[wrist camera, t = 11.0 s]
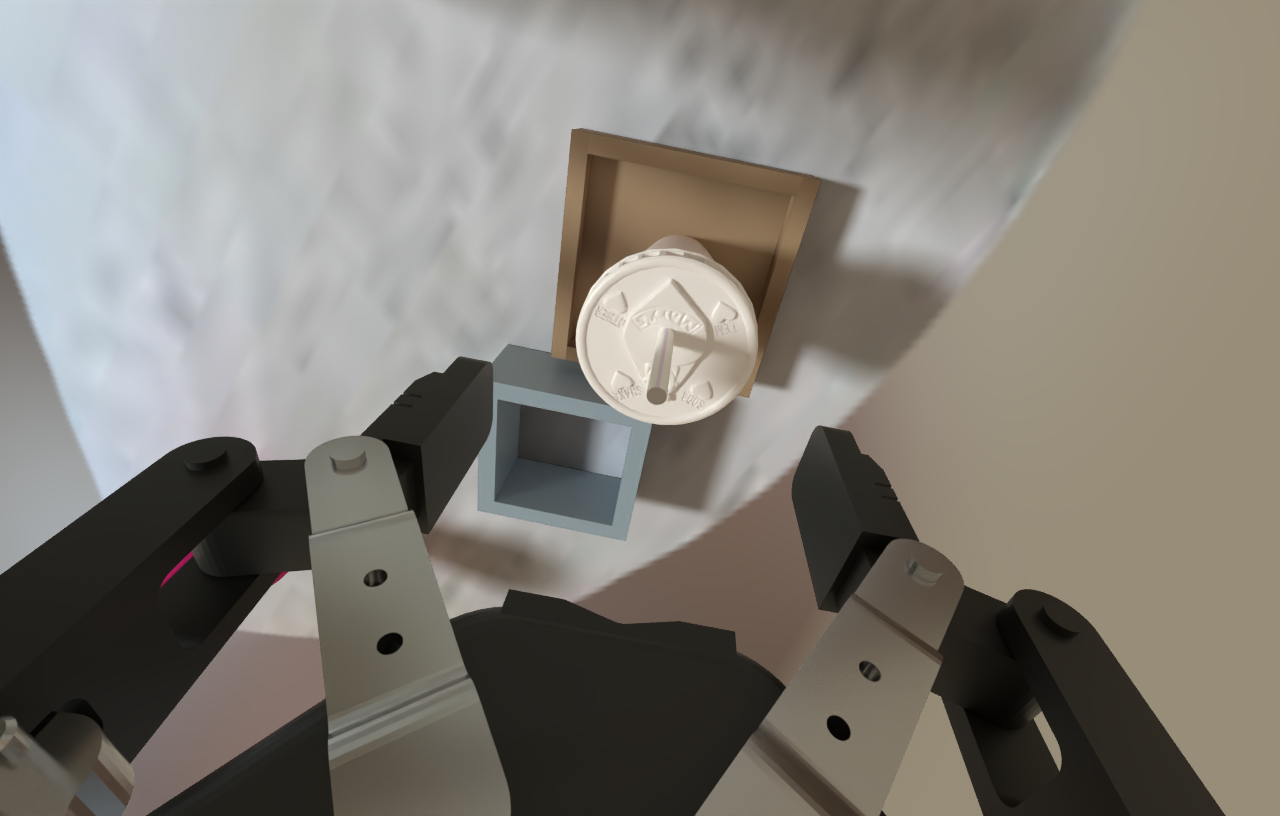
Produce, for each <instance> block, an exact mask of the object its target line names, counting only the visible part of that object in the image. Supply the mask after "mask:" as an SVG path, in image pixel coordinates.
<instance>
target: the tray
mask: <svg viewBox="0 0 1280 816" xmlns="http://www.w3.org/2000/svg"><path fill="white" fill-rule="evenodd" d="M820 183H821V180H819V179H817V178H815V177H813V176H812V175H807V174H802V173H797V172H792V171H788V170H783V169H778V168H773V167H768V166H763V165H758V164H754V163H749V162H744V161H739V160H734V159H729V158H724V157H719V156H715V155H710V154H705V153H700V152H695V151H690V150H685V149H681V148H676V147H671V146H666V145H661V144H656V143H651V142H647V141H642V140H637V139H632V138H627V137H622V136H617V135H613V134H608V133H603V132H598V131H593V130H588V129H583V128H580V129H572V132H571V143H570V154H569V165H568V176H567V187H566V198H565V209H564V219H563V230H562V241H561V252H560V263H559V274H558V285H557V296H556V307H555V318H554V328H553V339H552V350H551V357H554V358H559V359H564V360H569V361H573V362H578V363H579V359H578V355H577V349H576V328H577V322H578V319H579V315H580V312H581V309H582V307H583V304H584V302H585V300H586V298H587V296H588V293H589V291H590V289H591V287H592V286H593V285H594V284H595V283H596V281H597V280H598V279H599V278H600V277H601V276H602V274H603V273H604V272H605V271H606V270H607V269H609V268H610V267H612V266H613V265H615V264H616V263H618V262H619V261H621V260H622V259H624V258H625V257H627V256H630V255H633V254H637V253H640V252H643V251H645V250H646V249H648V248H649V247H650V246H651V245H653V244H654V243H655V242H657V241H658V240H660V239H662V238H664V237H667V236H671V235H684V236H688V237H691V238H693V239H695V240H697V241H698V242H700V243H701V244H702V245H703V246H704V247H705V248H706V250H707V251H708V252H709V254H710V255H711V257H712V258H713V260H714V261H715V262H717V263H719V264H720V265H722V266H724V267H725V268H726V269H727V270H728V271H729V272H730V273H731V274H732V275H733V276H734V277H735V278H736V279H737V280H738V281H739V282H740V283H741V285H742V286H743V288H744V290H745V292H746V293H747V295H748V297H749V299H750V300H751V302H752V304H753V308H754V313H755V317H756V321H757V325H758V330H757V332H758V351H757V358H756V362H755V366H754V368H753V371H752V374H751V376H750V378H749V380H748V381H747V383H746V385H745V386H744V388H743V389H742V390H741V392H740V393H739V394H738V396H743V397H748V398H749V396H750V393H751V390H752V387H753V384H754V381H755V378H756V375H757V372H758V369H759V366H760V363H761V360H762V357H763V354H764V351H765V348H766V345H767V342H768V339H769V336H770V333H771V330H772V327H773V324H774V321H775V318H776V315H777V312H778V309H779V306H780V303H781V300H782V297H783V294H784V291H785V288H786V285H787V282H788V279H789V276H790V273H791V270H792V267H793V264H794V261H795V258H796V255H797V252H798V249H799V246H800V243H801V240H802V237H803V234H804V231H805V228H806V225H807V222H808V219H809V216H810V213H811V210H812V207H813V204H814V201H815V198H816V195H817V192H818V189H819V186H820Z"/></svg>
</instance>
